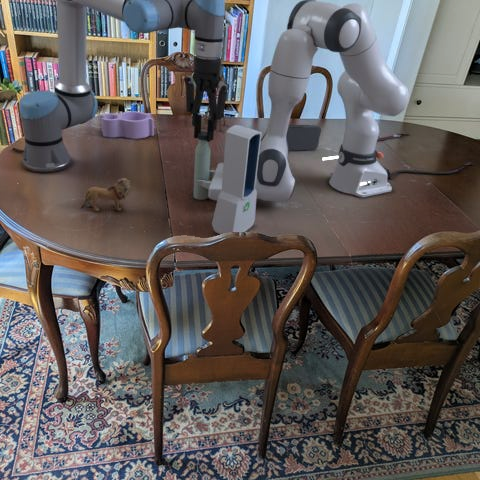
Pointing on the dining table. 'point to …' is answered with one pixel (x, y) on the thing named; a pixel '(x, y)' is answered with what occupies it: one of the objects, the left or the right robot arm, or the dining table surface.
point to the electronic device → (238, 181)
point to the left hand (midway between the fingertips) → (203, 138)
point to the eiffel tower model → (216, 98)
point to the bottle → (201, 169)
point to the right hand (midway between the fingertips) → (198, 177)
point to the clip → (127, 125)
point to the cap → (202, 135)
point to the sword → (390, 137)
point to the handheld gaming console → (303, 137)
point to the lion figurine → (108, 193)
